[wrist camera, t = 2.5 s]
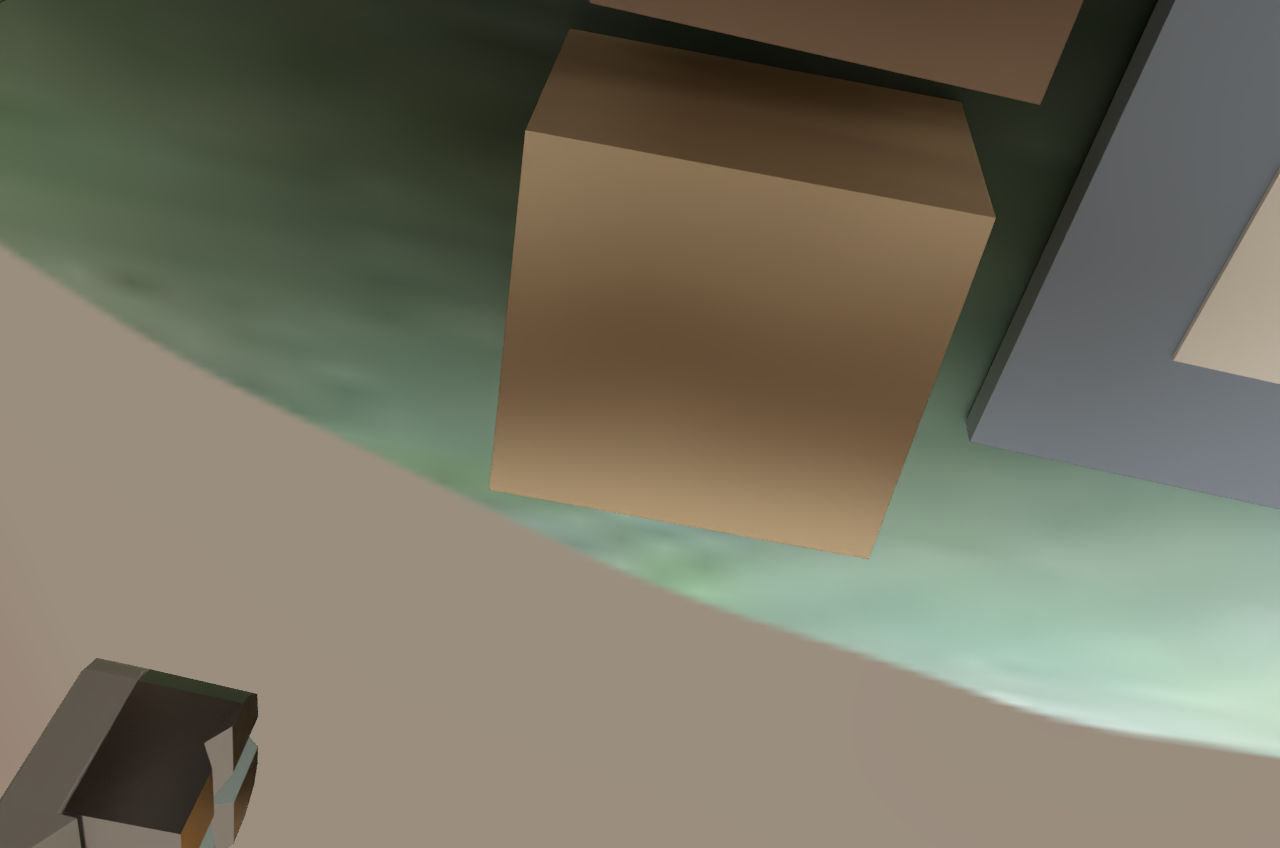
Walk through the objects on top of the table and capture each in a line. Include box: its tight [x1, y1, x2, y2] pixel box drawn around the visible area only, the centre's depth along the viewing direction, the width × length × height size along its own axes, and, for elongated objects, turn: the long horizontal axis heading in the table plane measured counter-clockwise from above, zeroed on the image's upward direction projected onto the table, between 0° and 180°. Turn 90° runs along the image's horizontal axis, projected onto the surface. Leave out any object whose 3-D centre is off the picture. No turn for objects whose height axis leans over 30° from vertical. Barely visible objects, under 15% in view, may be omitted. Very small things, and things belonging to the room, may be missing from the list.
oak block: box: [489, 29, 996, 559], centre depth 18 cm, size 6×6×4 cm
